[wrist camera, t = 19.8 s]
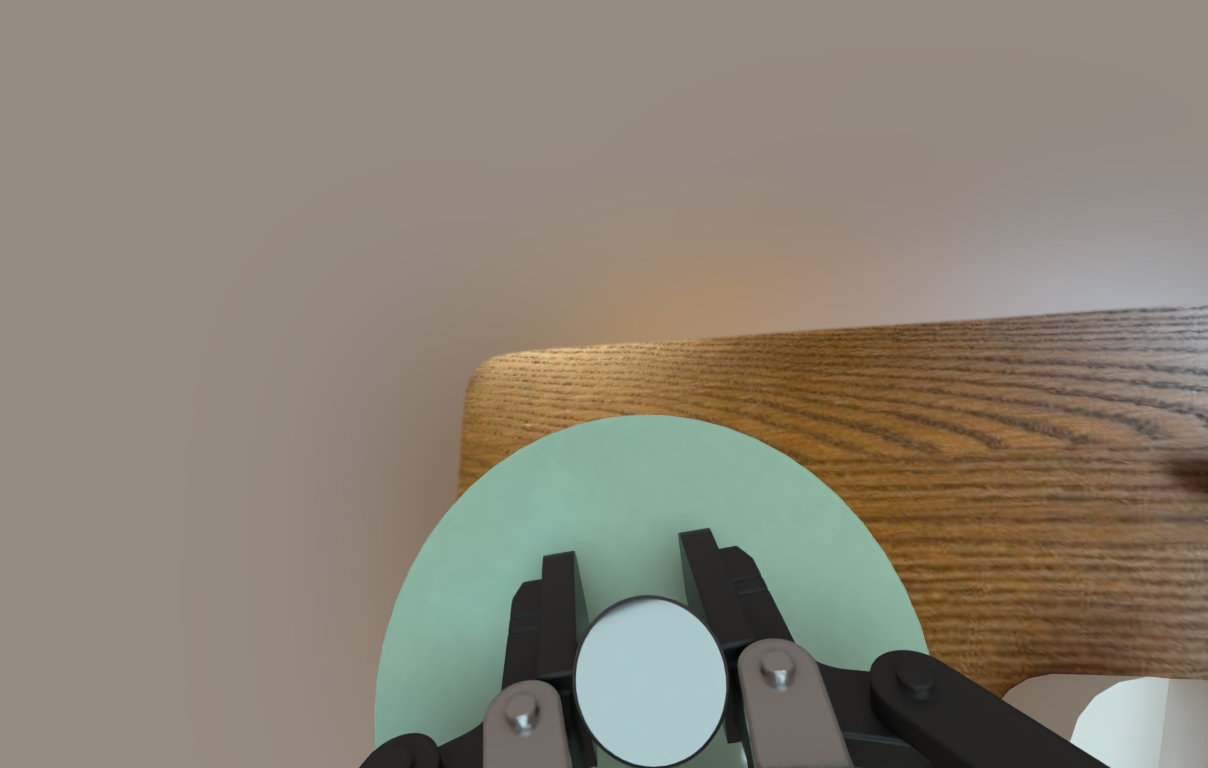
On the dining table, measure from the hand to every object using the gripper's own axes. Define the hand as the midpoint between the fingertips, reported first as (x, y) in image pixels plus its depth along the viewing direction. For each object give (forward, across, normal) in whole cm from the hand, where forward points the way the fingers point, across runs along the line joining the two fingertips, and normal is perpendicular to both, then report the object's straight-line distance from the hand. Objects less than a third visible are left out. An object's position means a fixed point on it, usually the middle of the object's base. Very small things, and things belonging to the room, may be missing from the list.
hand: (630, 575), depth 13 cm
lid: (0, 0, +3) cm, 3 cm away
